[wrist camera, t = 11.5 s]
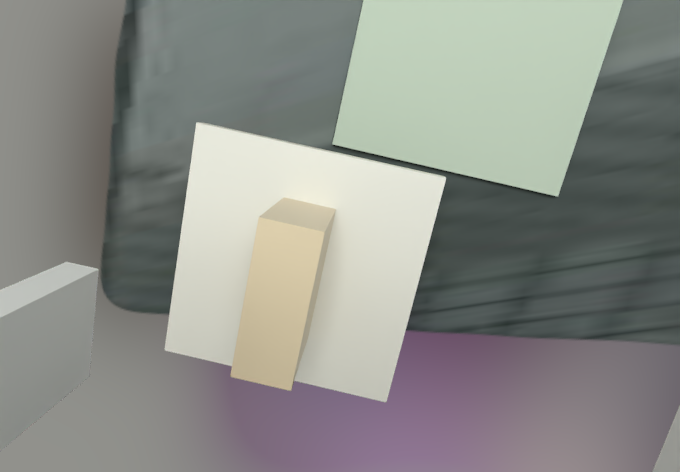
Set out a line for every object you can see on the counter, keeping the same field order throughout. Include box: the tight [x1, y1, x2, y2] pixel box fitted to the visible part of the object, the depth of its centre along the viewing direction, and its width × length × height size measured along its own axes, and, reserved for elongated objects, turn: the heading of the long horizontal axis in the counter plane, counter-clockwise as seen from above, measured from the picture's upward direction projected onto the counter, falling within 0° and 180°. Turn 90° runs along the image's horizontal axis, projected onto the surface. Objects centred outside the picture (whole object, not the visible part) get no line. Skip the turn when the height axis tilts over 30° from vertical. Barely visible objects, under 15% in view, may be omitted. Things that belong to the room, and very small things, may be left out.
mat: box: [333, 0, 623, 196], centre depth 32 cm, size 16×16×1 cm
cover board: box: [165, 122, 446, 402], centre depth 26 cm, size 14×14×7 cm
